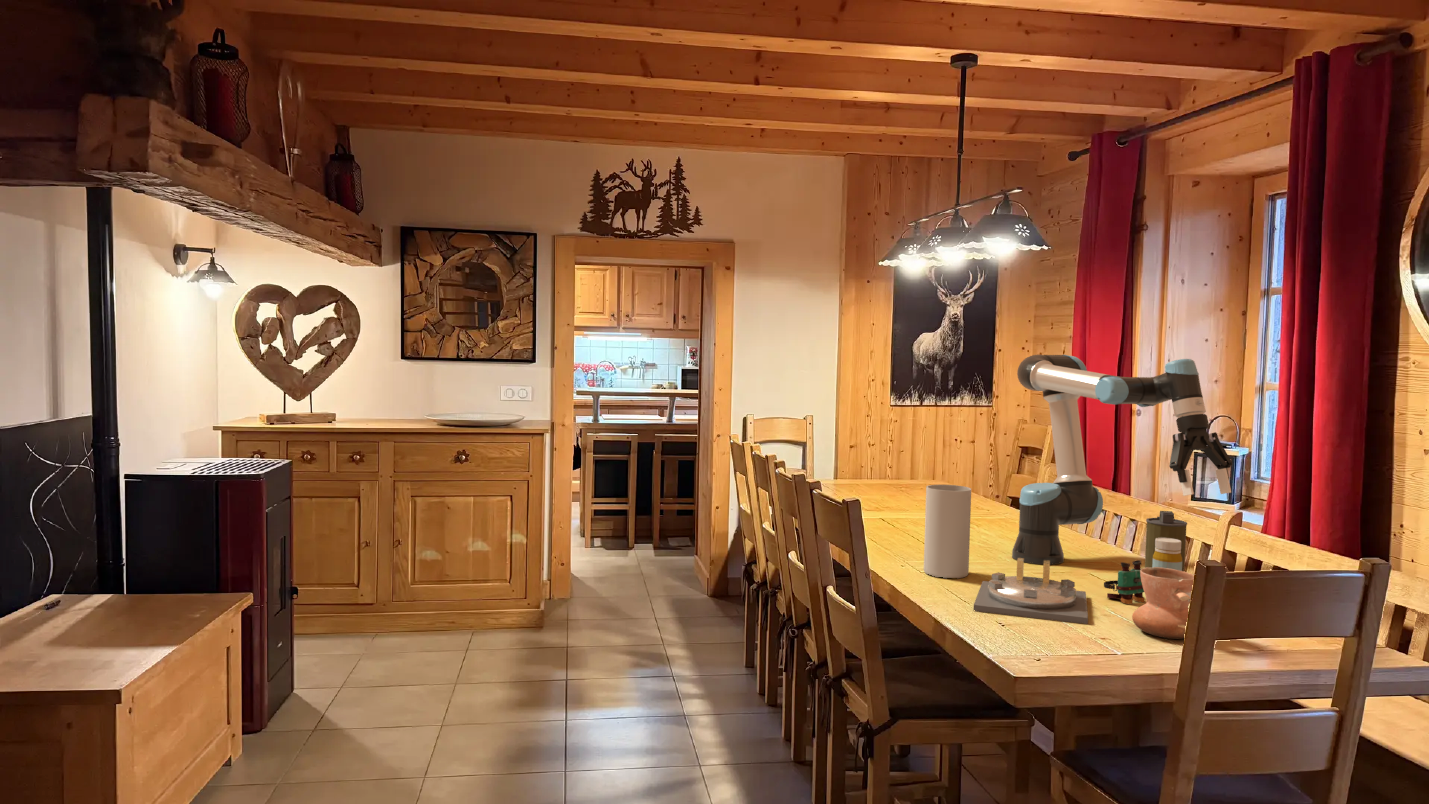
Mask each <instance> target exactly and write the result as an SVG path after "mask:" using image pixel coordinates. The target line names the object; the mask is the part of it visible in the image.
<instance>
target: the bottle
mask: <svg viewBox="0 0 1429 804" xmlns="http://www.w3.org/2000/svg"><path fill="white" fill-rule="evenodd" d="M1152 567H1162V568H1169V569H1175V570H1180V571H1182V556H1181V541H1180V540H1177V539H1172V538H1156V539H1155V552H1154V554H1153V563H1152Z"/></svg>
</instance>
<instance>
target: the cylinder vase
mask: <svg viewBox="0 0 1429 804" xmlns="http://www.w3.org/2000/svg"><path fill="white" fill-rule="evenodd" d="M971 509H972V488H970V487H968V486H963V485H956V484H930V485H926V488H925V518H924V519H925V520H924V526H925V527H924V550H923V551H924V552H923V553H924V554H923V571H924V573H925V574H926V575H928V574H929V575H928V576H930V575H932V577H934V576H935V577H934V578H938V577H943V578H942V579H947V578H957V579H963V578H966V577H967V576H968V575H969V568H970V567H969V566H970V540H971V539H970V536H971V516H972V515H971Z"/></svg>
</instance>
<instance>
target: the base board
mask: <svg viewBox="0 0 1429 804" xmlns="http://www.w3.org/2000/svg"><path fill="white" fill-rule="evenodd" d="M989 581H990V580H989ZM989 581H987V580H982V582H981V585H980V587H979V589H978V592H977V596H976V598H975V600H974V603H973V611H974V610H975V611H974V612H978V611H979V612H981V613H987V612H990V613H989V614H995V613H996V614H998V615H1006V616H1013V615H1014V616H1013V617H1022V618H1031V619H1040V620H1048V621H1049V620H1050V621H1055V620H1057V621H1058V622H1066V623H1073V624H1081V623H1083V624H1082V625H1088V622H1089V618H1088V617H1089V614H1088V604H1087V603H1088V602H1087V592H1086V591H1083V590H1076V604H1075V605H1074V606H1073V607H1070V608H1066V609H1058V610H1040V609H1029V608H1022V607H1016V606H1011V605H1007V604H1004V603H1001V602H998V601H995V600H994V599H992V598H990V596H989V595H988V593H989Z"/></svg>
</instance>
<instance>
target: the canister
mask: <svg viewBox="0 0 1429 804" xmlns="http://www.w3.org/2000/svg"><path fill="white" fill-rule="evenodd" d="M1145 521H1146V530H1145V532H1146V533H1145V535H1146V536H1145V554H1144V555H1145V556H1144V557H1145V559H1144V568H1146V567H1148V568H1152V563H1153V554H1154V552H1155V539H1156V538H1172V539H1177V540H1180V541H1181V556H1182V571H1184V572H1185V562H1186V561H1185V560H1186V540H1187V525H1188V522H1187V521H1184V520H1180V519H1176V518H1175V513H1174V512H1173V511H1170V510H1168V511H1167V510H1159V516H1157V517H1149V518H1148V517H1147V518H1146V520H1145Z"/></svg>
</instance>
